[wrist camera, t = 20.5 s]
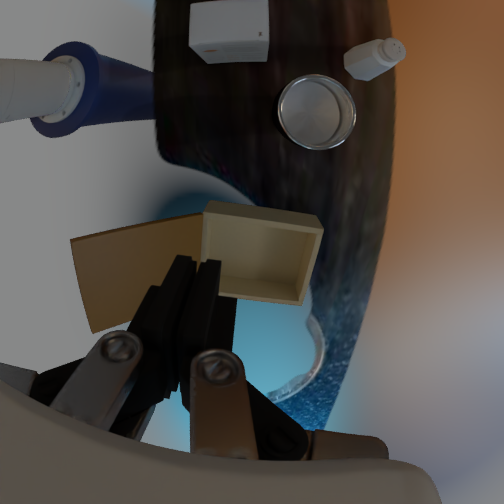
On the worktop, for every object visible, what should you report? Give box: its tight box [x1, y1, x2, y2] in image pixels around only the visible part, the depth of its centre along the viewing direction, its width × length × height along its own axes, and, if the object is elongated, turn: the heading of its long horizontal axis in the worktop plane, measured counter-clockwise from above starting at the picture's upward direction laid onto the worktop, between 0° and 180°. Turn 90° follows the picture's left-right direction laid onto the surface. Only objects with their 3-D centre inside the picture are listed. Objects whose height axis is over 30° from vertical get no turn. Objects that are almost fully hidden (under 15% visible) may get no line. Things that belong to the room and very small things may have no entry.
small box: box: [189, 0, 269, 64], centre depth 23 cm, size 8×6×10 cm
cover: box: [70, 212, 204, 334], centre depth 32 cm, size 16×13×5 cm
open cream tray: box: [200, 200, 324, 306], centre depth 39 cm, size 16×13×5 cm
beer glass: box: [272, 74, 356, 150], centre depth 26 cm, size 7×7×15 cm
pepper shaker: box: [344, 38, 406, 81], centre depth 24 cm, size 5×5×11 cm
